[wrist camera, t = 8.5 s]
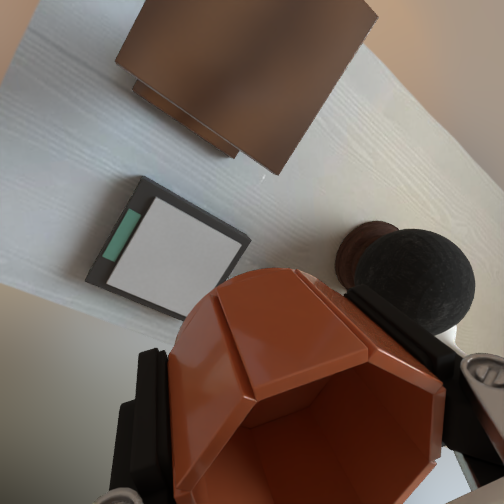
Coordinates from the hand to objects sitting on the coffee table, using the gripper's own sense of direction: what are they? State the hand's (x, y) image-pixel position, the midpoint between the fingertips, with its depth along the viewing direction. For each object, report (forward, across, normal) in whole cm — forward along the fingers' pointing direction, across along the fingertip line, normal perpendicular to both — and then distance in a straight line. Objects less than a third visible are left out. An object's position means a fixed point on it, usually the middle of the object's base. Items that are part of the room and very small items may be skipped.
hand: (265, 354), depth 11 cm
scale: (+30, +4, +6) cm, 30 cm away
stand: (+30, -6, -12) cm, 32 cm away
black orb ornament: (+30, -23, +15) cm, 41 cm away
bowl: (0, 0, 0) cm, 0 cm away
